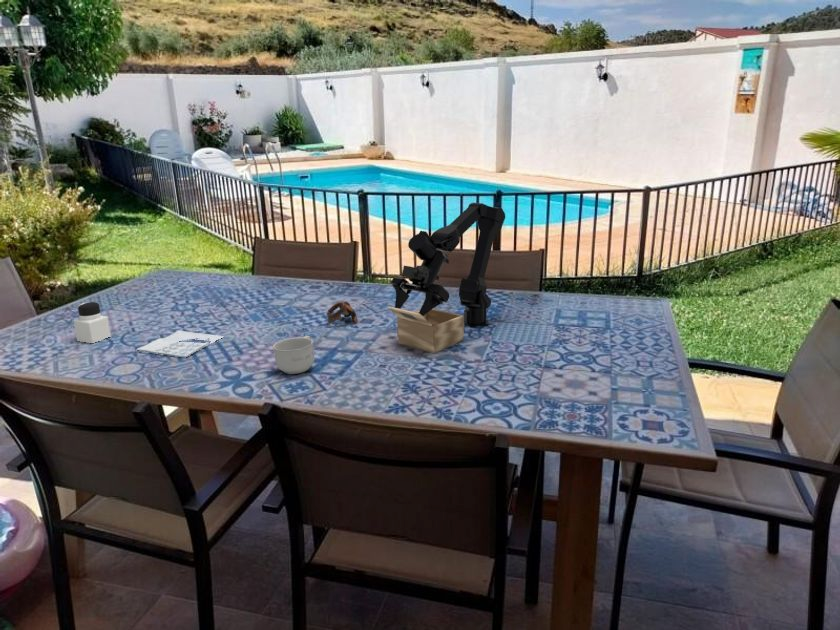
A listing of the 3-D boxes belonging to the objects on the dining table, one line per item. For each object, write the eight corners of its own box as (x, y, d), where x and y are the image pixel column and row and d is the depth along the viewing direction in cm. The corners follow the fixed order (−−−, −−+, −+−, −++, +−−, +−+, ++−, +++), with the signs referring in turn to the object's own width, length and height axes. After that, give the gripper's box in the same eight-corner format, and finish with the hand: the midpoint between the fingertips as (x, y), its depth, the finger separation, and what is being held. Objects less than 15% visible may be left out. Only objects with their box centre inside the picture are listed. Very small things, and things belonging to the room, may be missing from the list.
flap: (388, 306, 185) (387, 307, 185) (419, 313, 177) (419, 315, 177) (400, 317, 190) (399, 318, 190) (432, 325, 182) (431, 326, 182)
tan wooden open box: (428, 331, 203) (427, 307, 201) (465, 340, 194) (465, 315, 192) (397, 343, 193) (396, 318, 191) (434, 353, 184) (434, 327, 181)
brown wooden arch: (358, 328, 209) (345, 309, 206) (334, 339, 212) (321, 321, 208) (362, 309, 219) (350, 291, 216) (339, 320, 222) (327, 302, 218)
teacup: (296, 380, 167) (294, 352, 164) (266, 372, 172) (264, 345, 170) (330, 363, 178) (328, 336, 176) (301, 356, 183) (299, 330, 181)
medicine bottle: (111, 337, 204) (105, 301, 200) (92, 344, 197) (85, 307, 194) (96, 334, 206) (90, 299, 203) (76, 341, 200) (70, 305, 197)
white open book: (134, 354, 190) (133, 347, 189) (180, 333, 208) (179, 327, 207) (186, 361, 184) (185, 354, 183) (229, 338, 202) (228, 332, 201)
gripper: (392, 250, 187) (368, 295, 183) (441, 258, 175) (417, 306, 171) (411, 269, 195) (389, 313, 191) (459, 278, 183) (437, 325, 179)
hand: (407, 314), depth 183 cm, fingers open, 9 cm apart
